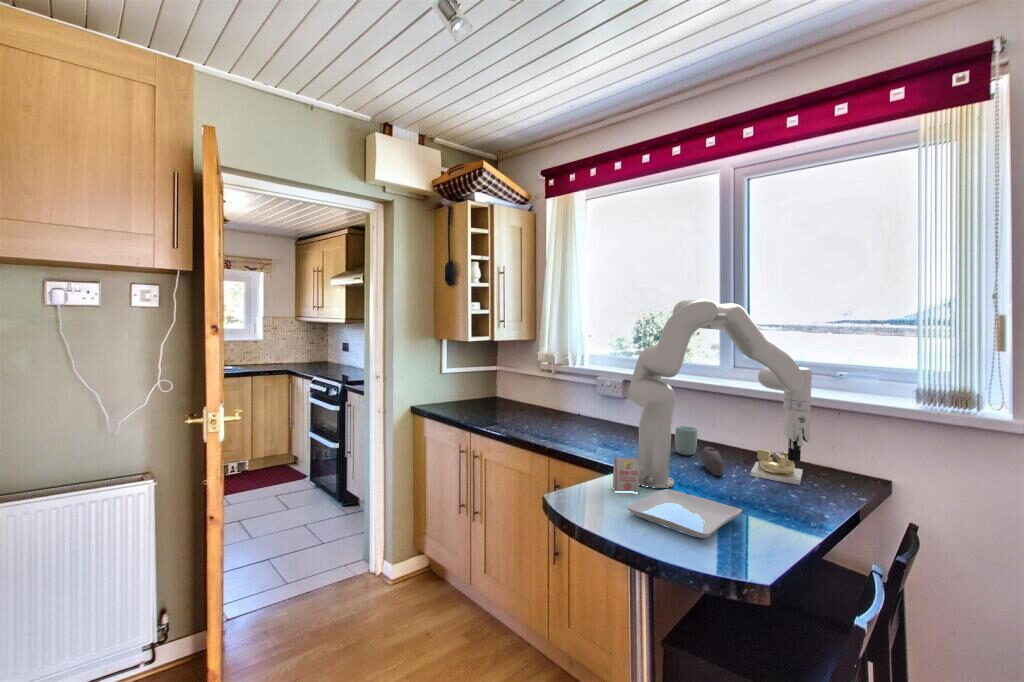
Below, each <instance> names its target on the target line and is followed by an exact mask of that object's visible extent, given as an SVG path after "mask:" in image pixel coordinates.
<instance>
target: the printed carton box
mask: <svg viewBox="0 0 1024 682" xmlns="http://www.w3.org/2000/svg"><path fill="white" fill-rule="evenodd" d="M612 471H613V473H612V489H613V488H614V490H615V491H634V492H638V493H639V491H640V489H639V488H640V485H639V459H638V457H621V456H620V457H614V463H613V469H612Z"/></svg>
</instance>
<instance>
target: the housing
mask: <svg viewBox="0 0 1024 682" xmlns="http://www.w3.org/2000/svg"><path fill="white" fill-rule="evenodd" d="M760 449H764V450H767V449H766V448H760ZM760 462H761V459H758V461H755V463H754V465H753V467H752V469H751V471H750V477H754V478H759V479H764V480H765V479H766V480H771V481H776V482H781V483H785V484H791V485H792V484H794V485H796V486H797V485H798V486H801V482H802V477H803V468H797V467H795V471H794V473H793V474H779V473H773V472H769V471H766V470H763V469H762V468H761V467H760Z"/></svg>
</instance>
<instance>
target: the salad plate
mask: <svg viewBox="0 0 1024 682" xmlns="http://www.w3.org/2000/svg"><path fill="white" fill-rule="evenodd" d="M668 502H669V503H675V504H679V505H681V506H682V507H683V508H685V509H687V510H689V512H692V513H693V514H695V513H697V514H698V515H700V517H701V518H702V519H703V520H705V521H703V522H705V524H704V523H703V522H702V523H703V524H704V525H703V532H702V533H701V532H698V531H695V530H692V529H690V528H687V527H684V526H682V525H679V524H676V523H674V522H671V521H668V520H665V519H662V518H659V517H656V516H653V515H649V514H646V513H643V511H647V510H649V509H651V508H654V507H655V506H657V505H661V504H664V503H668ZM669 503H668V504H669ZM626 508H627V510H628V511H629V512H630V513H631V514H632V515H634V516H636V517H637V516H639V517H638V518H640V517H641V518H640V519H642V518H644V519H643V520H645V519H647V520H650V521H653V522H656V523H659V524H662V525H665V526H668V527H670V528H673V529H676V530H679V531H682V532H684V533H687V534H690V535H693V536H692V537H694V536H696V537H695V538H697V537H699V538H698V539H706V538H709V537H710V536H711V535H713V533H714V532H716V531H717V530H718V529H720V528H721V527H723V526H724V525H726V524H727V523H729V522H731V521H732V520H734V519H736V518H737V517H738V516H739V515H741V513H742V512H743V509H741V508H738V507H735V506H731V505H727V504H724V503H722V502H717V501H714V500H711V499H707V498H703V497H699V496H697V495H691V494H689V493H684V492H682V491H681V492H680V491H677V490H674V489H670V488H667V489H660V490H659V491H657V492H654V493H652V494H650V495H648V496H646V497H644V498H642V499H640V500H637V501H635V502H634V503H632V504H629V505H628V506H627V507H626ZM647 520H646V521H647ZM650 521H649V522H650ZM653 522H652V523H653ZM656 523H655V524H656ZM659 524H658V525H659ZM706 527H707V528H706ZM670 528H669V529H670ZM673 529H672V530H673ZM684 533H683V534H684ZM687 534H686V535H687ZM690 535H689V536H690Z"/></svg>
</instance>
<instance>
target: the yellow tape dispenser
mask: <svg viewBox="0 0 1024 682" xmlns="http://www.w3.org/2000/svg"><path fill="white" fill-rule="evenodd" d="M764 449H765V448H763V449H761V448H758V449H757V457H756V459H758V460H759V459H761V462H760V467H761V468H762V469H763V470H766V471H769V472H773V473H779V474H793V473H794V471H795V468H796V464H795V461H790V460H788V450H787V451H781V452H776V451H773V452H772V453H771V450H767V449H766V450H764ZM771 454H772V455H771Z"/></svg>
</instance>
